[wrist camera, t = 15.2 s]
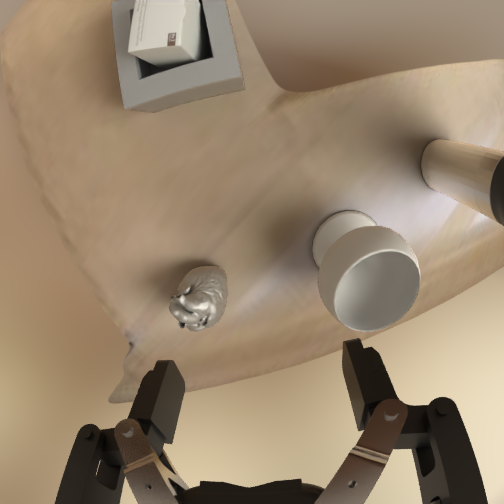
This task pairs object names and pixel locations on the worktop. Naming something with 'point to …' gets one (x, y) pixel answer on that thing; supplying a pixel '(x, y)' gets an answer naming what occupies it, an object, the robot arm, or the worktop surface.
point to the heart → (200, 298)
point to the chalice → (364, 271)
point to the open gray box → (183, 77)
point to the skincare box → (169, 32)
